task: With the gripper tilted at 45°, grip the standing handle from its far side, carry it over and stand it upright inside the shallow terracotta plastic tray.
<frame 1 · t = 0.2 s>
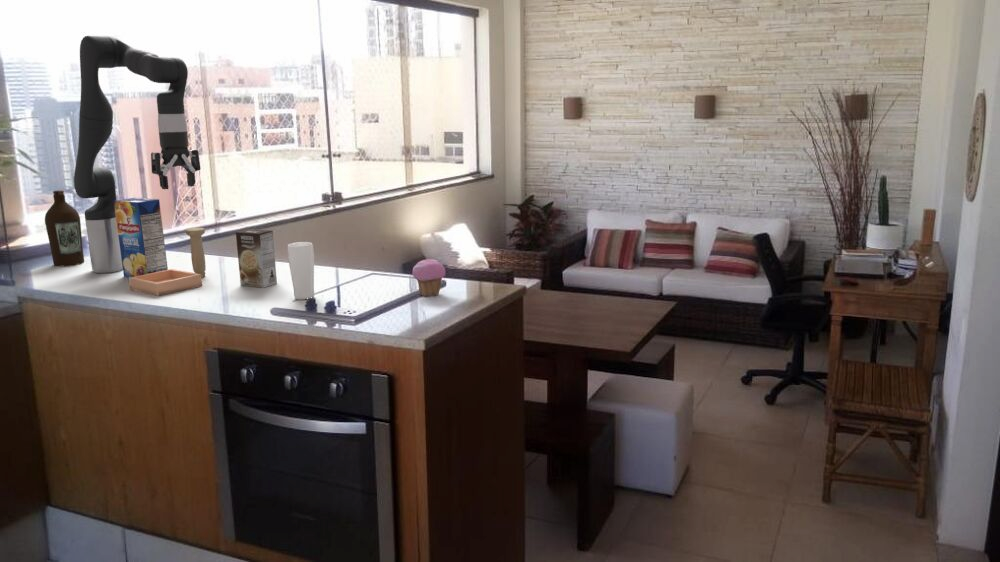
hand: (178, 187, 236), 29 cm above the counter, tool pointing down, fingers open, 8 cm apart
olive oil: (69, 264, 281), on the counter
juice carton: (146, 276, 259), on the counter
coffee box: (259, 285, 243), on the counter
tray: (166, 287, 242), on the counter
handle: (200, 277, 255), on the counter
drinking glass: (304, 298, 225), on the counter
cupcake: (429, 295, 224), on the counter
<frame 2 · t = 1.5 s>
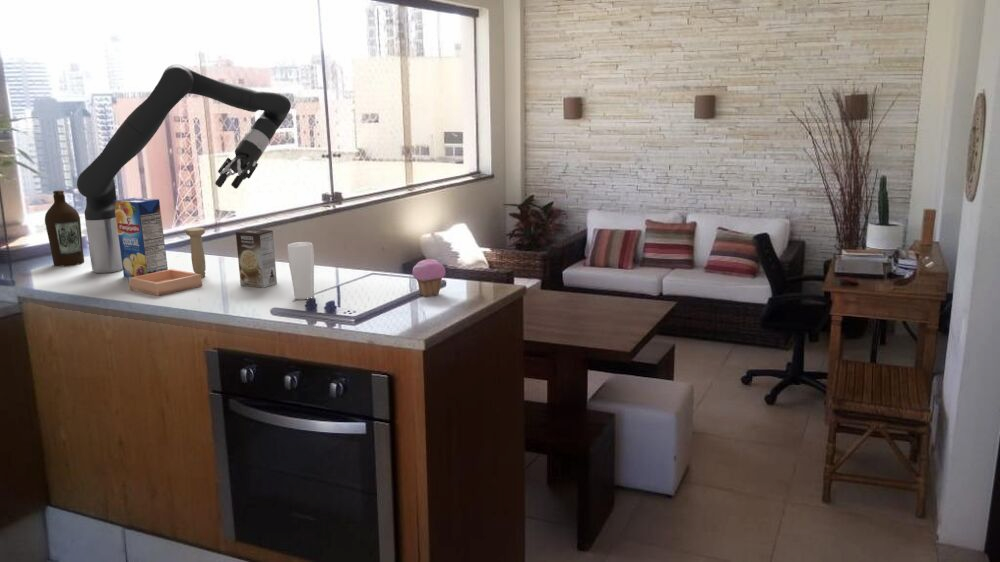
hand: (225, 186, 258), 27 cm above the counter, tool tilted 45°, fingers open, 8 cm apart
nothing on the counter moved.
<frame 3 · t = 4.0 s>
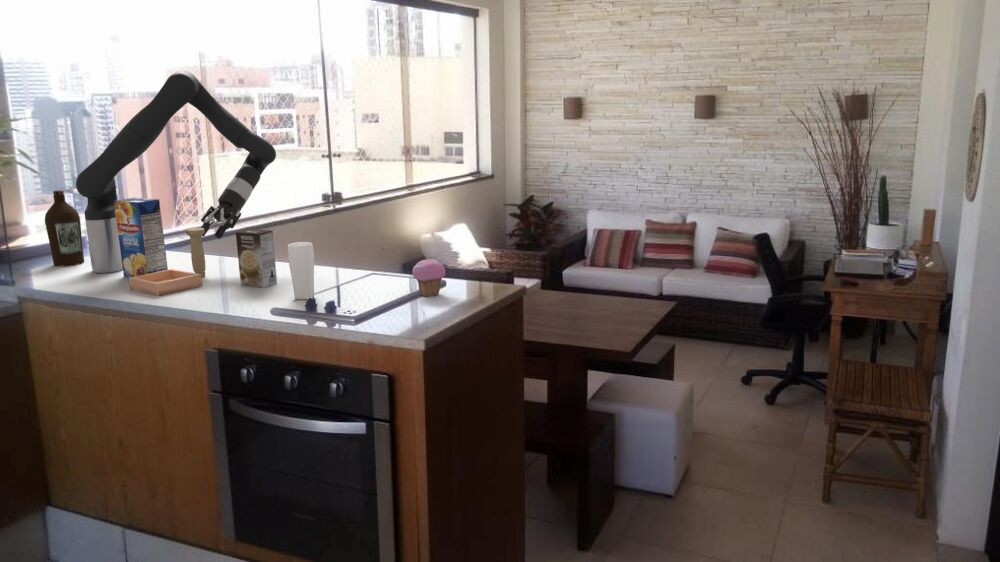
hand: (208, 236, 256), 12 cm above the counter, tool tilted 45°, fingers open, 8 cm apart
nothing on the counter moved.
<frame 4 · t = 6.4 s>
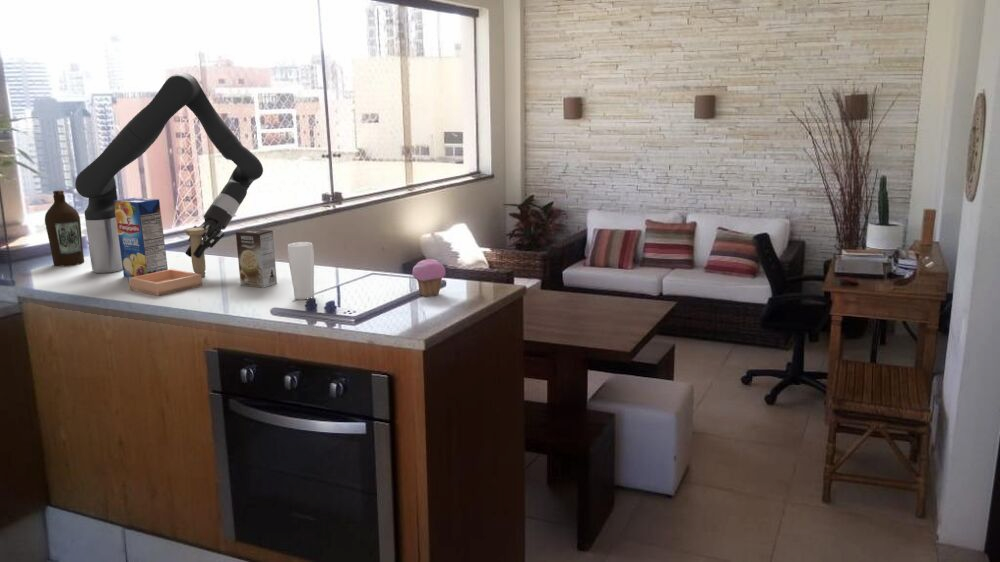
hand: (192, 255, 252), 7 cm above the counter, tool tilted 45°, fingers closed on handle, 3 cm apart
handle: (200, 277, 255), on the counter, touching gripper
everything else where it was.
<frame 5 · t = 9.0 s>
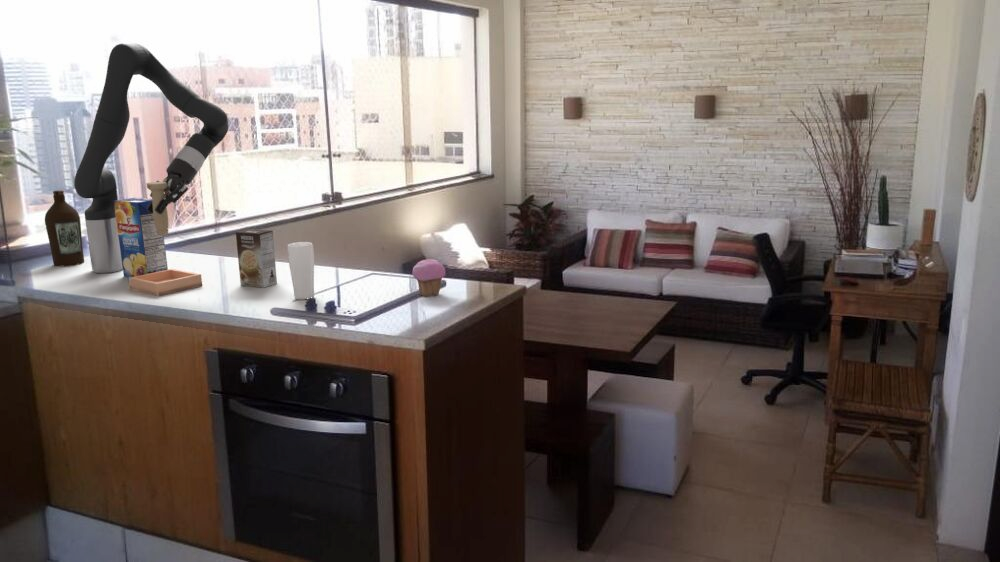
hand: (153, 211, 236), 23 cm above the counter, tool tilted 45°, fingers closed on handle, 3 cm apart
handle: (162, 235, 239), point 15 cm above the counter, touching gripper
everything else where it was.
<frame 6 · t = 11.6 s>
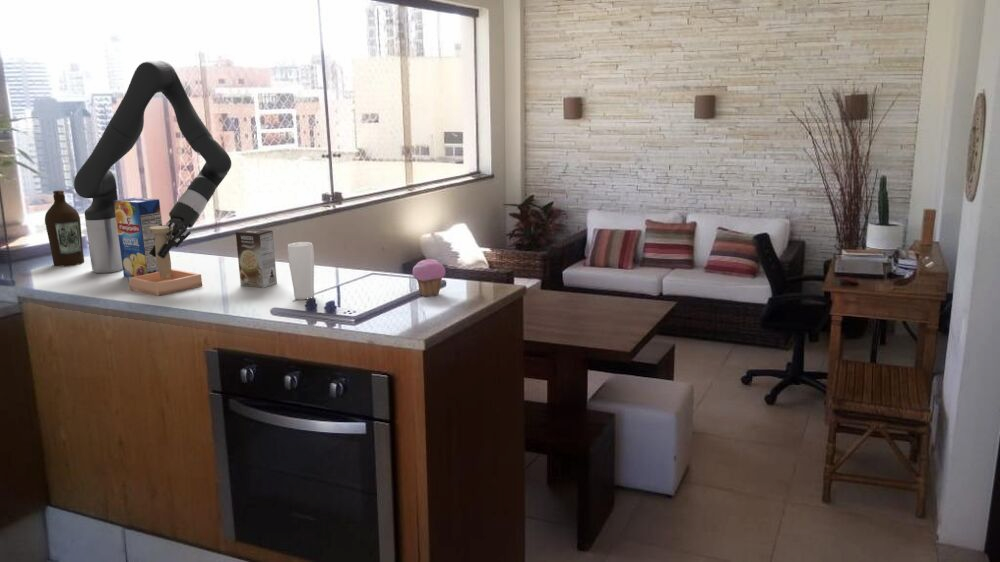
hand: (156, 255, 238), 10 cm above the counter, tool tilted 45°, fingers closed on handle, 3 cm apart
handle: (165, 278, 241), point 3 cm above the counter, touching gripper
everything else where it was.
when the fingers open (10 cm above the counter, at t = 11.9 s): handle drops 2 cm, resting on tray.
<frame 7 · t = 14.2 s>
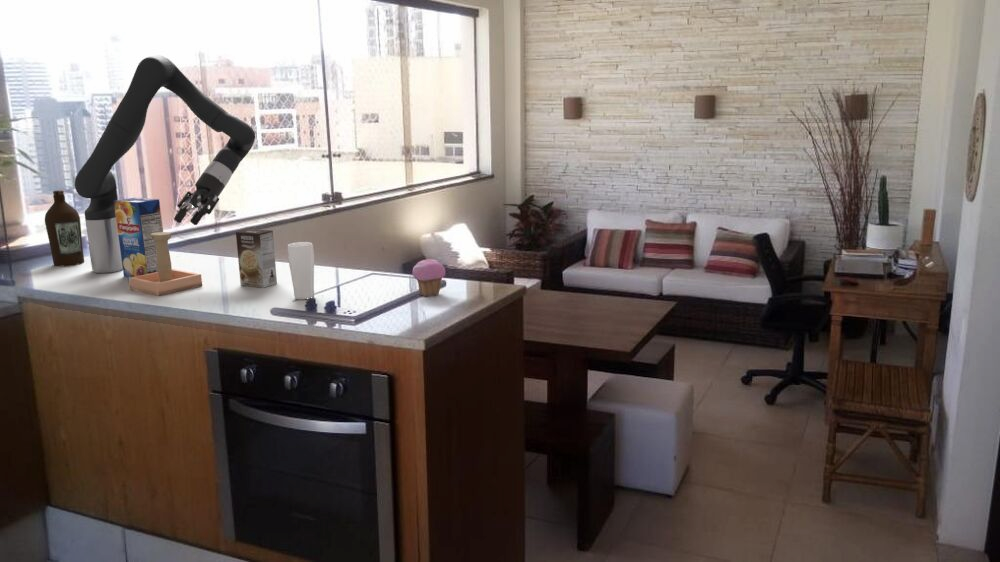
hand: (184, 222, 244), 18 cm above the counter, tool tilted 45°, fingers open, 8 cm apart
handle: (166, 284, 242), point 1 cm above the counter, touching tray
everything else where it was.
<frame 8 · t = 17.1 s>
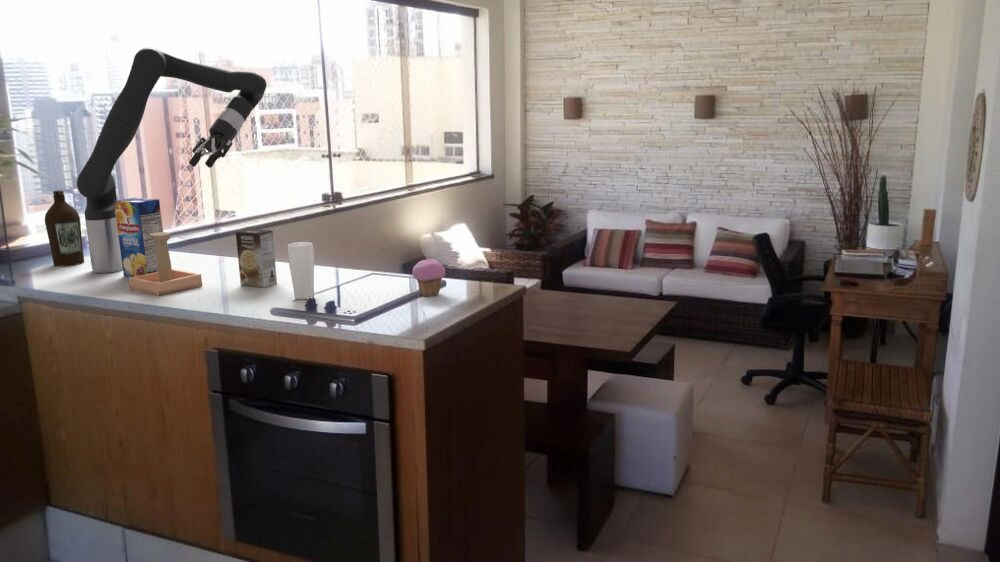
hand: (199, 165, 255), 34 cm above the counter, tool tilted 45°, fingers open, 8 cm apart
nothing on the counter moved.
at the end: handle inside the target area on the tray (0.3 cm from its centre), point 0.8 cm above the tray's base; handle tilted 1°; the gripper is holding nothing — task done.
